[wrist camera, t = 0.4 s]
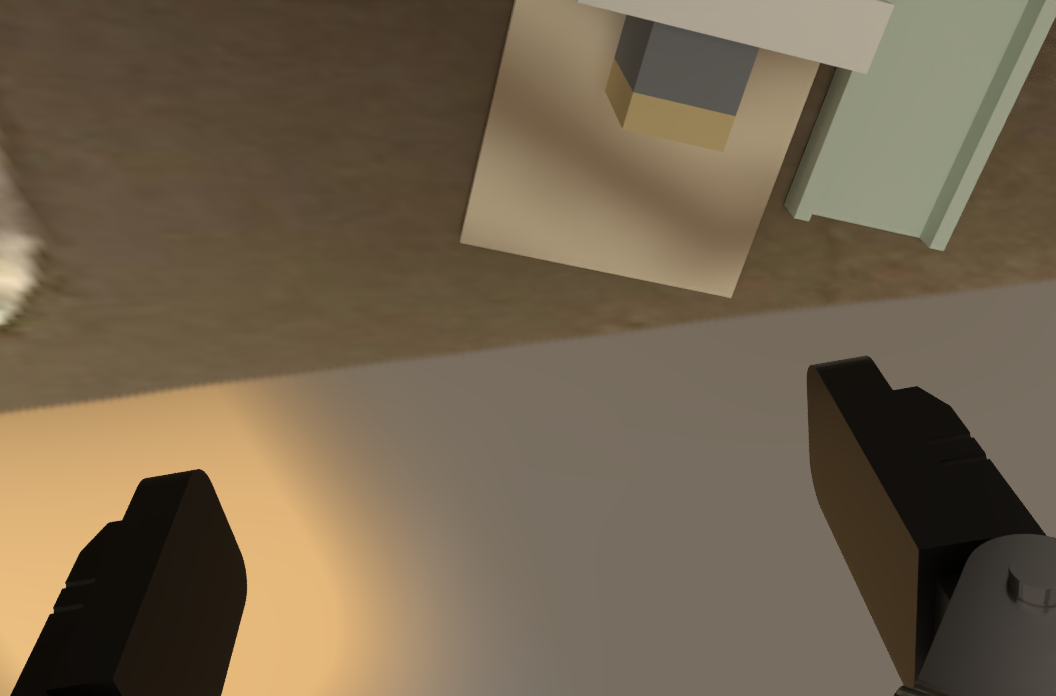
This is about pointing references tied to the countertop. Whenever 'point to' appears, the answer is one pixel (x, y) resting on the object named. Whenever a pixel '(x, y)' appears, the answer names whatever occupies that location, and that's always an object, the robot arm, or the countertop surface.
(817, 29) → the strap
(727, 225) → the flat beige board
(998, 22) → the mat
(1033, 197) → the countertop surface
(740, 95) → the long gray brick
